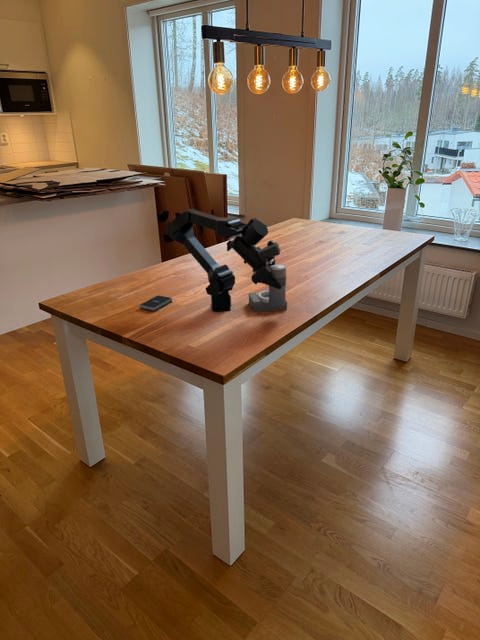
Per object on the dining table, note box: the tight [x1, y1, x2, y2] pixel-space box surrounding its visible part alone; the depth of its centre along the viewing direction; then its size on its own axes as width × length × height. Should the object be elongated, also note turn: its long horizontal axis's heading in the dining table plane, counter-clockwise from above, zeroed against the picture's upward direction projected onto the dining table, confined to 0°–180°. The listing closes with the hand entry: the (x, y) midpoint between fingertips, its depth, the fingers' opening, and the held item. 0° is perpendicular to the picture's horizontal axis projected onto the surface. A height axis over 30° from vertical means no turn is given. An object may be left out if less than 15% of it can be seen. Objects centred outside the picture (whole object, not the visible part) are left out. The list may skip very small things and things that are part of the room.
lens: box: [268, 264, 287, 307], centre depth 147 cm, size 6×6×13 cm
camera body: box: [248, 289, 288, 313], centre depth 160 cm, size 12×9×4 cm
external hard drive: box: [139, 294, 173, 313], centre depth 164 cm, size 7×11×2 cm, turn 151°
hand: (281, 285), depth 147 cm, fingers closed on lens, 6 cm apart
